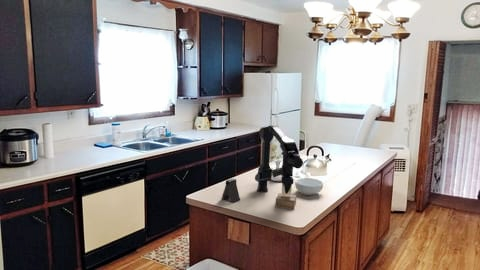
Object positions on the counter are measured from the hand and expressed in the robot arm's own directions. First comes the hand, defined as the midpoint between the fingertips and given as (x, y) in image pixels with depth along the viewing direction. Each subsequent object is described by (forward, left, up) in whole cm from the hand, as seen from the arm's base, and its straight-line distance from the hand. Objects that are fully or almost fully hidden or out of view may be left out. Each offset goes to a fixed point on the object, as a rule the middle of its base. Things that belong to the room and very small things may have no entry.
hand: (286, 191), depth 205 cm
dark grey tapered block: (-3, -31, -8) cm, 32 cm away
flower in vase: (-48, -6, -8) cm, 49 cm away
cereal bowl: (-24, +14, -8) cm, 29 cm away
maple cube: (0, 0, -1) cm, 1 cm away
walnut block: (0, 0, -8) cm, 8 cm away
